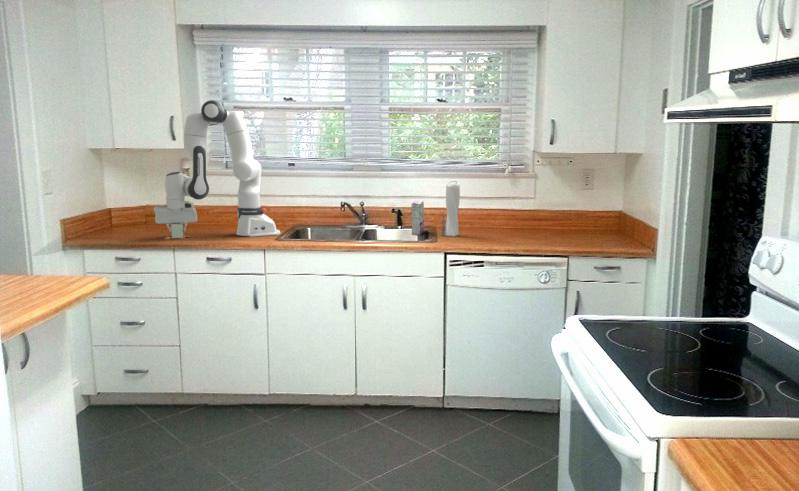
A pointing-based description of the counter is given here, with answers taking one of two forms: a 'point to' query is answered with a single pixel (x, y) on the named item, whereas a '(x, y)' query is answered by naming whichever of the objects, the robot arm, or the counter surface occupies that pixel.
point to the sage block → (177, 230)
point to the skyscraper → (451, 210)
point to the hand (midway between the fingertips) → (177, 231)
